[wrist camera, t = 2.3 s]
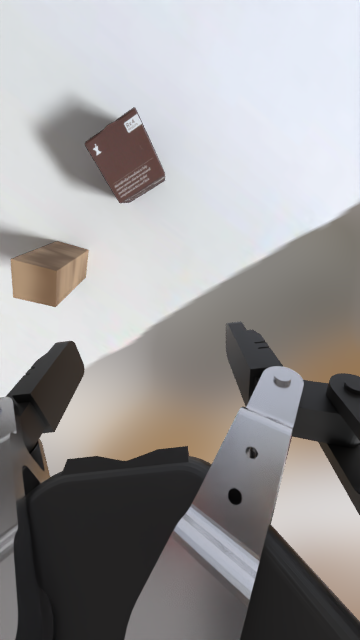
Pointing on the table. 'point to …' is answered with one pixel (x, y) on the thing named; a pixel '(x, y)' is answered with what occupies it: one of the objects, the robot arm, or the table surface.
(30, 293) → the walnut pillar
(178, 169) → the table surface
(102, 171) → the box
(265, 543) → the robot arm
